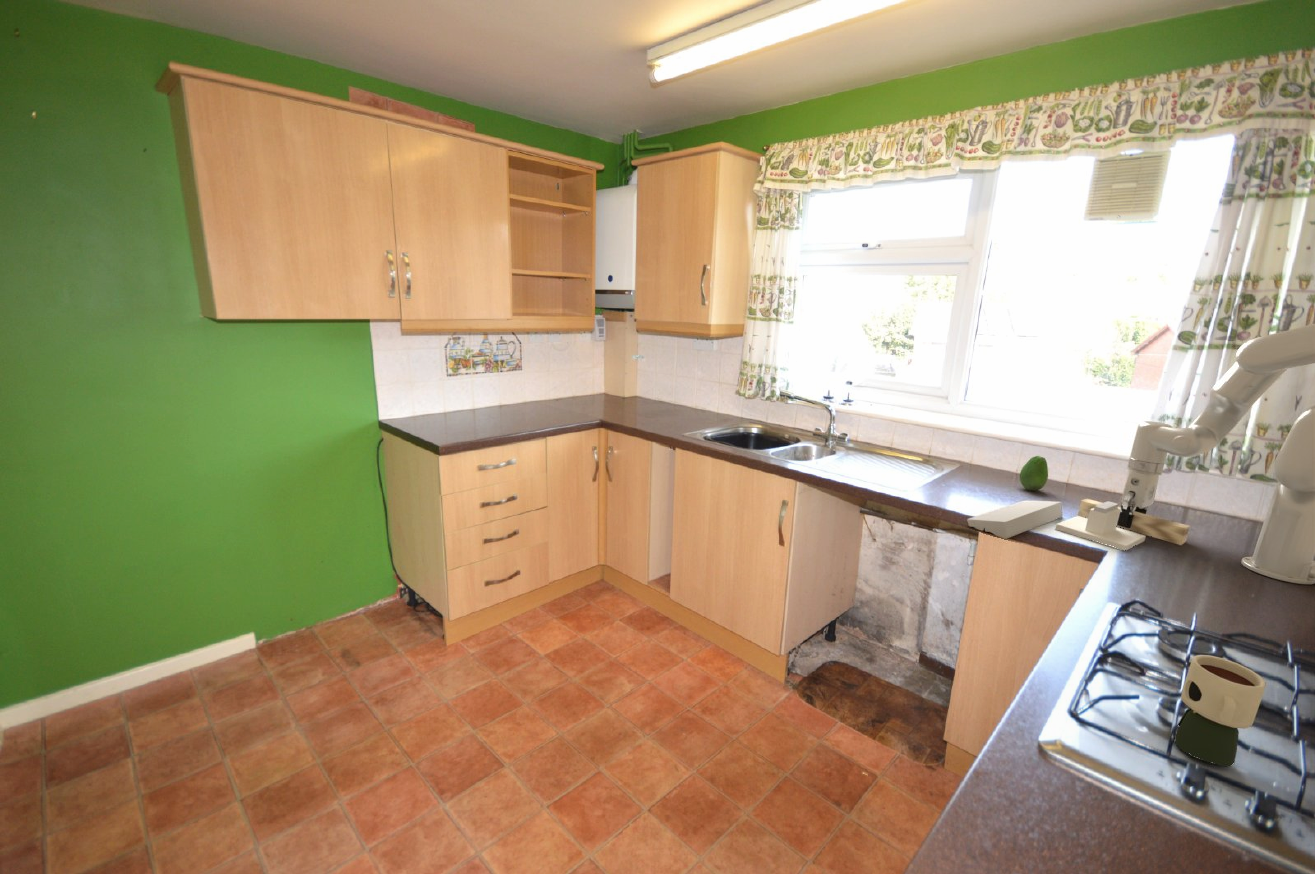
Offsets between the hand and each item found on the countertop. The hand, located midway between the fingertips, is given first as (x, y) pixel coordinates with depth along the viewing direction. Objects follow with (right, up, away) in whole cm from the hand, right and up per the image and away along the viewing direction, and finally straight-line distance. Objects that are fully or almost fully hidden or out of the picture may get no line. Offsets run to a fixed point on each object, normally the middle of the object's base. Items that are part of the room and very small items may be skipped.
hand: (1129, 523), depth 163 cm
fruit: (-8, +7, +31) cm, 33 cm away
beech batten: (0, -2, 0) cm, 2 cm away
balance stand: (-14, -2, -6) cm, 15 cm away
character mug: (-60, -19, -85) cm, 105 cm away
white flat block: (-32, 0, +1) cm, 32 cm away
